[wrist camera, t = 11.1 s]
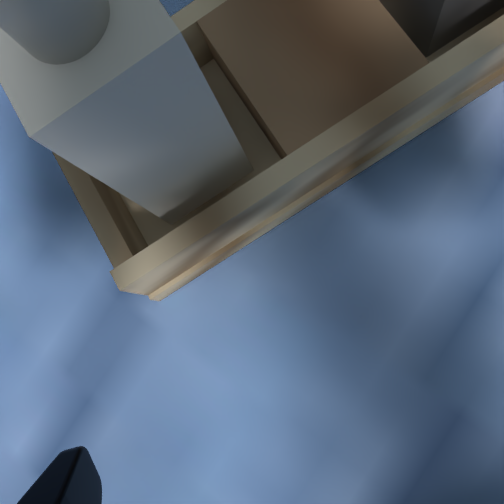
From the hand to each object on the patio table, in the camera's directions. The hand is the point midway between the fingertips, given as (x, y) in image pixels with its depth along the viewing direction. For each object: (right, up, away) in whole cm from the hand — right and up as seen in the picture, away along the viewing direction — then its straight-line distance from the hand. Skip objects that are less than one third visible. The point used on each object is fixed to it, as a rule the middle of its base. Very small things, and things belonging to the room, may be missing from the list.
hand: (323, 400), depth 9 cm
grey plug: (-4, +7, +10) cm, 13 cm away
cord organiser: (+1, +10, +11) cm, 15 cm away
